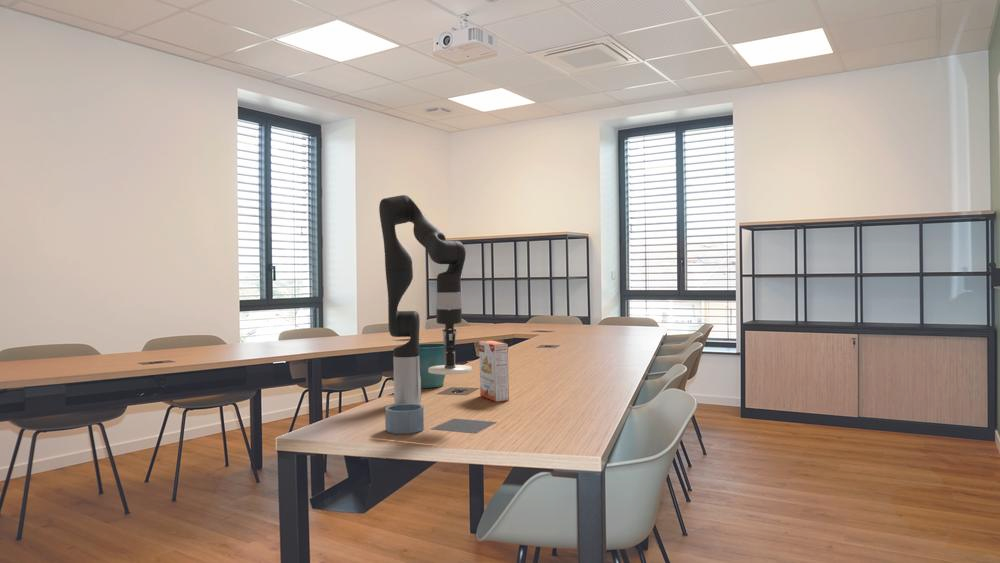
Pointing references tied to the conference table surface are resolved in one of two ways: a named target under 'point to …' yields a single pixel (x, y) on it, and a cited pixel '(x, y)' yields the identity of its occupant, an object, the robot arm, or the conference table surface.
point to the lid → (449, 368)
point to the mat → (464, 425)
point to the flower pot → (431, 364)
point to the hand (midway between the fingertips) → (449, 364)
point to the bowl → (404, 418)
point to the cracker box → (494, 370)
